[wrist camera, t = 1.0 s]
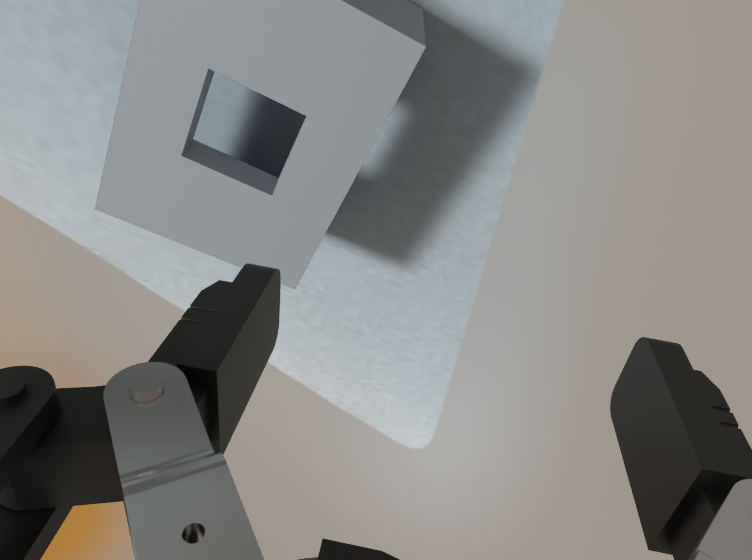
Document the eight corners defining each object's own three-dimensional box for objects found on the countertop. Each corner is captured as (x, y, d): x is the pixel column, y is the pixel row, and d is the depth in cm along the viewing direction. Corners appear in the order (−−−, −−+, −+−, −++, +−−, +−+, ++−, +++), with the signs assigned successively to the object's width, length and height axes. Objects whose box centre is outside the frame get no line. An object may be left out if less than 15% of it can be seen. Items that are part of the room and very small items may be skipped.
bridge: (141, 153, 37) (94, 208, 31) (210, -113, 28) (161, -99, 22) (310, 226, 40) (295, 289, 34) (422, 8, 31) (426, 46, 25)
